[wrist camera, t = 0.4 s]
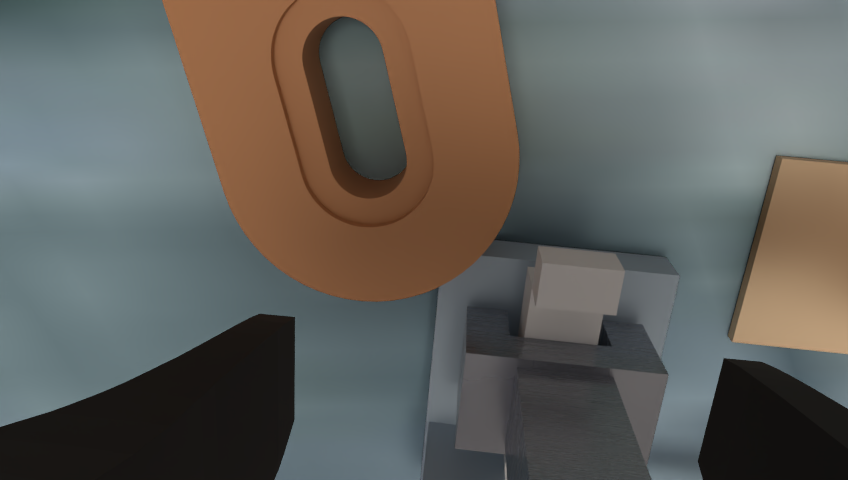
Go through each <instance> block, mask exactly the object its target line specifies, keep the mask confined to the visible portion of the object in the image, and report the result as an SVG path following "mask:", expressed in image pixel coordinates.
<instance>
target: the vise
mask: <svg viewBox="0 0 848 480" xmlns="http://www.w3.org/2000/svg"><path fill="white" fill-rule="evenodd" d="M679 279H680V275H679V274H678V272H677V271H676V270H675V268H674V267H673V266H672V264H671V263H670V262H669V260H668V259H667V258H666V257H660V256H650V255H640V254H630V253H620V252H610V251H600V250H590V249H580V248H570V247H560V246H550V245H540V244H530V243H520V242H510V241H500V240H494V241H493V242H492V243H491V245H490V246H489V247H488V249H487V250H486V251H485V252H484V253H483V254H482V255H481V256H480V257H479V259H478V260H477V261H476V262H475V263H474V264H472V265H471V266H470V267H469V268H468V269H466V270H465V271H464V272H463V273H461V274H460V275H458V276H457V277H455V278H454V279H452V280H451V281H449V282H447V283H445V284H443V285H442V286H440V287H439V291H438V302H437V312H436V322H435V333H434V343H433V354H432V364H431V374H430V385H429V395H428V406H427V416H426V426H425V437H424V447H423V458H422V468H421V478H420V480H507V469H506V454H497V453H488V452H479V451H471V450H462V449H455V433H456V411H457V391H458V382H459V373H460V365H461V356H462V347H463V338H464V329H465V321H466V312H467V306H471V307H480V308H490V309H499V310H507V313H508V322H509V332H510V336H516V337H525V338H535V339H544V340H554V341H563V342H573V343H582V344H591V345H598V340H599V335H600V330H601V325H602V320H605V321H614V322H624V323H633V324H643V326H644V328H645V330H646V332H647V334H648V336H649V338H650V340H651V342H652V344H653V346H654V348H655V349H656V351H657V353H658V355H659V357H660V359H661V356H662V351H663V347H664V343H665V339H666V334H667V330H668V326H669V321H670V317H671V313H672V309H673V304H674V300H675V296H676V291H677V287H678V283H679Z"/></svg>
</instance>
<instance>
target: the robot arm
mask: <svg viewBox="0 0 848 480" xmlns="http://www.w3.org/2000/svg"><path fill="white" fill-rule="evenodd" d="M294 375H295V317H287V316H277V315H266V314H258V315H256V316H253V317H251V318H249V319H247V320H245V321H243V322H241V323H239V324H237V325H235V326H234V327H232V328H230V329H228V330H226V331H225V332H223V333H221V334H219V335H217V336H215V337H214V338H212V339H210V340H208V341H206V342H204V343H203V344H201V345H199V346H197V347H195V348H193V349H192V350H190V351H188V352H186V353H184V354H182V355H180V356H179V357H177V358H175V359H173V360H170V361H168V362H166V363H164V364H162V365H160V366H158V367H156V368H154V369H152V370H150V371H148V372H146V373H144V374H142V375H140V376H138V377H135V378H133V379H131V380H129V381H127V382H125V383H123V384H120V385H118V386H116V387H114V388H111V389H109V390H106V391H104V392H102V393H99V394H97V395H94V396H91V397H89V398H86V399H84V400H81V401H78V402H76V403H73V404H70V405H68V406H65V407H62V408H59V409H57V410H54V411H51V412H48V413H45V414H41V415H38V416H35V417H32V418H28V419H25V420H22V421H18V422H15V423H12V424H9V425H5V426H2V427H0V480H274V479H275V477H276V474H277V472H278V470H279V467H280V464H281V461H282V458H283V455H284V452H285V449H286V445H287V442H288V439H289V436H290V432H291V429H292V426H293V422H294ZM698 463H699V467H700V470H701V474H702V477H703V480H848V409H847V408H845V407H844V406H842V405H840V404H839V403H837V402H835V401H833V400H832V399H830V398H828V397H827V396H825V395H823V394H822V393H820V392H818V391H816V390H815V389H813V388H811V387H810V386H808V385H806V384H804V383H803V382H801V381H799V380H797V379H795V378H794V377H792V376H790V375H788V374H786V373H784V372H782V371H781V370H779V369H776V368H774V367H772V366H770V365H768V364H765V363H763V362H757V361H747V360H736V359H726V358H724V360H723V364H722V368H721V372H720V376H719V380H718V384H717V388H716V392H715V396H714V399H713V403H712V407H711V411H710V415H709V419H708V423H707V427H706V431H705V435H704V439H703V443H702V447H701V451H700V455H699V459H698Z"/></svg>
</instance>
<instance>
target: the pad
mask: <svg viewBox="0 0 848 480" xmlns="http://www.w3.org/2000/svg"><path fill="white" fill-rule="evenodd" d="M728 337H729V338H730V340H731V341H732V342H737V343H747V344H756V345H766V346H776V347H785V348H795V349H804V350H814V351H823V352H833V353H842V354H848V162H840V161H829V160H818V159H808V158H797V157H786V156H776V159H775V163H774V167H773V170H772V174H771V178H770V181H769V185H768V189H767V193H766V196H765V200H764V204H763V207H762V211H761V215H760V219H759V222H758V226H757V230H756V233H755V237H754V241H753V244H752V248H751V252H750V256H749V259H748V263H747V267H746V270H745V274H744V278H743V282H742V285H741V289H740V293H739V296H738V300H737V304H736V308H735V311H734V315H733V319H732V322H731V326H730V330H729V333H728Z"/></svg>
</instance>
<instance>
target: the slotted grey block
mask: <svg viewBox="0 0 848 480" xmlns="http://www.w3.org/2000/svg"><path fill="white" fill-rule="evenodd" d="M667 379H668V373H667V371H666V369H665V367H664V365H663V363H662V361H661V359H660V357H659V355H658V353H657V351H656V349H655V348H654V346H653V344H652V342H651V340H650V338H649V336H648V334H647V332H646V330H645V328H644V326H643V324H633V323H624V322H614V321H605V320H602V325H601V330H600V335H599V340H598V345H591V344H582V343H573V342H563V341H554V340H544V339H535V338H525V337H516V336H510V332H509V322H508V313H507V310H499V309H490V308H480V307H471V306H467V312H466V321H465V329H464V338H463V347H462V356H461V365H460V373H459V382H458V391H457V411H456V433H455V449H462V450H471V451H479V452H488V453H497V454H506V469H507V480H651V477H650V474H649V472H648V469H647V463H648V459H649V454H650V450H651V446H652V442H653V438H654V434H655V429H656V425H657V421H658V417H659V413H660V409H661V404H662V400H663V396H664V392H665V388H666V384H667Z"/></svg>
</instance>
